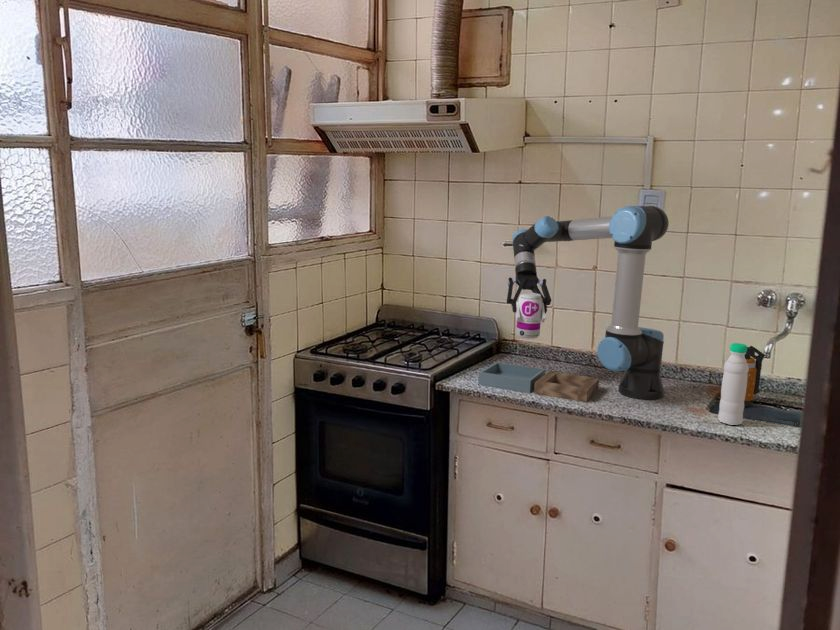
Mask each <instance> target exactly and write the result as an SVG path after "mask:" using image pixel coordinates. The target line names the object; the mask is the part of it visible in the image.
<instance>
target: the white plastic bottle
mask: <svg viewBox="0 0 840 630" xmlns="http://www.w3.org/2000/svg"><path fill="white" fill-rule="evenodd" d="M747 347H748V346H747V345H746V344H744V343H738V342H734V343H731V344H730V346H729V352H730V356H729V357H728V358H727V360H726V361H725V363H724V364H723V375H722V381H721V389H720V400H719V405H718V406H719V410H718V414H717V421H718V420H719V421H720V422H723V423H727V424H733V425H737V424H741V425H742V424H743V421H744V411H745V407H744V400H745V395H746V388H747V373H748V371H749V367H748V364H747V361H746V359H745V354H746V352H747ZM719 421H718V422H719ZM720 422H719V423H720Z"/></svg>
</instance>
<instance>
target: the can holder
mask: <svg viewBox="0 0 840 630" xmlns="http://www.w3.org/2000/svg"><path fill="white" fill-rule="evenodd" d="M599 387H600V378H599V377H592V376H587V375H579V374H578V375H577V374H571V373H565V372H560V371H552V370H549V371H548V372H545V375H544V376H543V377H541V378H540V379H539V380H537V381H536V382H535V386H534V390H533V394H534V395H538V396H545V397H550V396H551V397H552V398H556V399H561V400H562V399H565V400H568V401H569V400H570V401H576V402H581V403H582V402H583V403H587V402H588V401H589V400H590V399H591V398H592V397H593V396H594V395H595V394H596V393H597V392H598V391H599V389H600V388H599ZM551 397H550V398H551Z"/></svg>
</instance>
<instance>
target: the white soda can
mask: <svg viewBox="0 0 840 630" xmlns="http://www.w3.org/2000/svg"><path fill="white" fill-rule="evenodd" d="M517 302H519V313H520V319H519V322H516V327H515V328H516V329H515V334H516V335H517V337H519V338H522V339H538V337H540V333H541V323H542V321H541V312H542V298H541V295H540V294H536V293H533V292H522V293H520V295H519V297H518V300H517Z"/></svg>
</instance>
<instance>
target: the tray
mask: <svg viewBox="0 0 840 630" xmlns="http://www.w3.org/2000/svg"><path fill="white" fill-rule="evenodd" d="M546 370H547V369H546V368H541V367H534V366H528V365H527V366H526V365H521V364H513V363H507V362H499V361H496V362H494V363H491V364H490V365H488V366H487V367H485V368H484V369H482V370H480V371H479V372H478V376H477V377H478V380H477V381H478V382H477V385H478V384H481V385H480V386H482V385H484V386H483V387H489V388H495V389H500V390H501V389H502V390H506V391H507V390H508V391H512V392H513V391H515V392H518V393H519V392H520V393H528V394H530V393H532V392H534V386H535V382H536V381H537V380H539V379H540V378H541V377H543V376H544V375H545V374H546V373H547V372H546Z"/></svg>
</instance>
